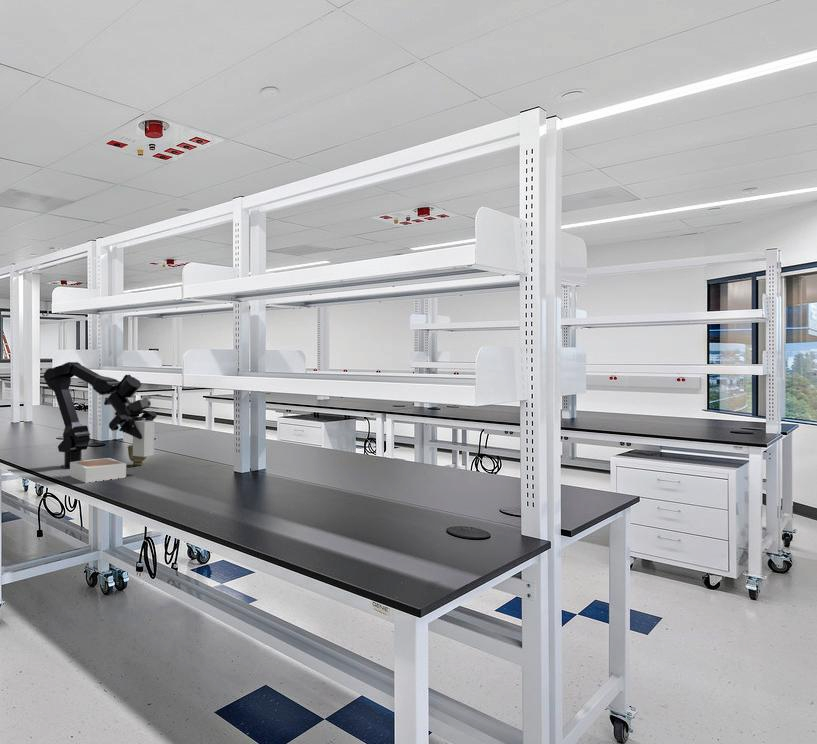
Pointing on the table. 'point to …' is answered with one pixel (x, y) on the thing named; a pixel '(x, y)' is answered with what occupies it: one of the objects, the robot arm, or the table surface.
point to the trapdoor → (97, 463)
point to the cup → (135, 457)
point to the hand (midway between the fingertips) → (146, 437)
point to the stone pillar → (144, 439)
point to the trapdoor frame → (97, 471)
